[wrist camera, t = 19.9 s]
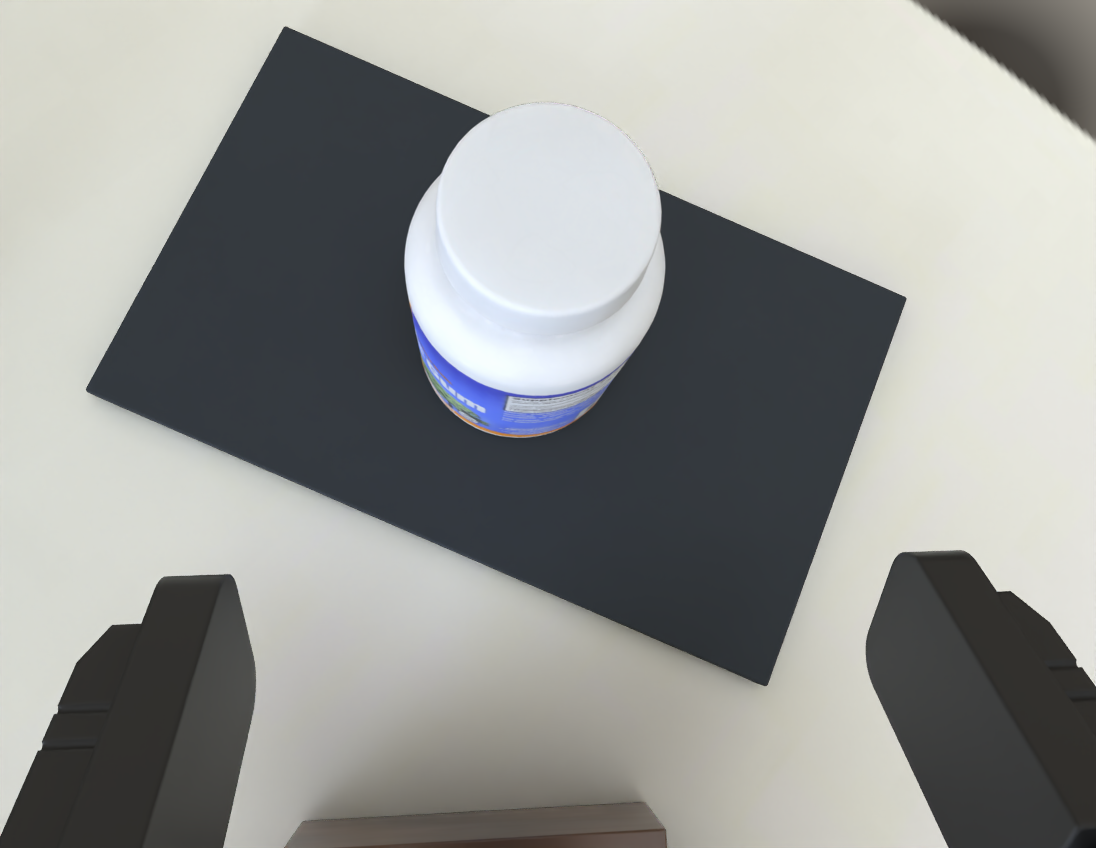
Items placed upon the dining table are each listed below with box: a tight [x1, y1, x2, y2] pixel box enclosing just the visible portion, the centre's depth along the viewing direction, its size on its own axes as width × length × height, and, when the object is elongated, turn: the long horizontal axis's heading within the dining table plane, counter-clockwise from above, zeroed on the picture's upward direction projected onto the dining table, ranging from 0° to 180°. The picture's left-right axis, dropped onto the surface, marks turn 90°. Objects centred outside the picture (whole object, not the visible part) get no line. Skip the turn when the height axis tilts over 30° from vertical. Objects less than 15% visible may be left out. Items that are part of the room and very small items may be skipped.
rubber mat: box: [86, 27, 906, 686], centre depth 25 cm, size 20×12×1 cm, turn 67°
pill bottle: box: [404, 102, 665, 438], centre depth 20 cm, size 5×5×10 cm
